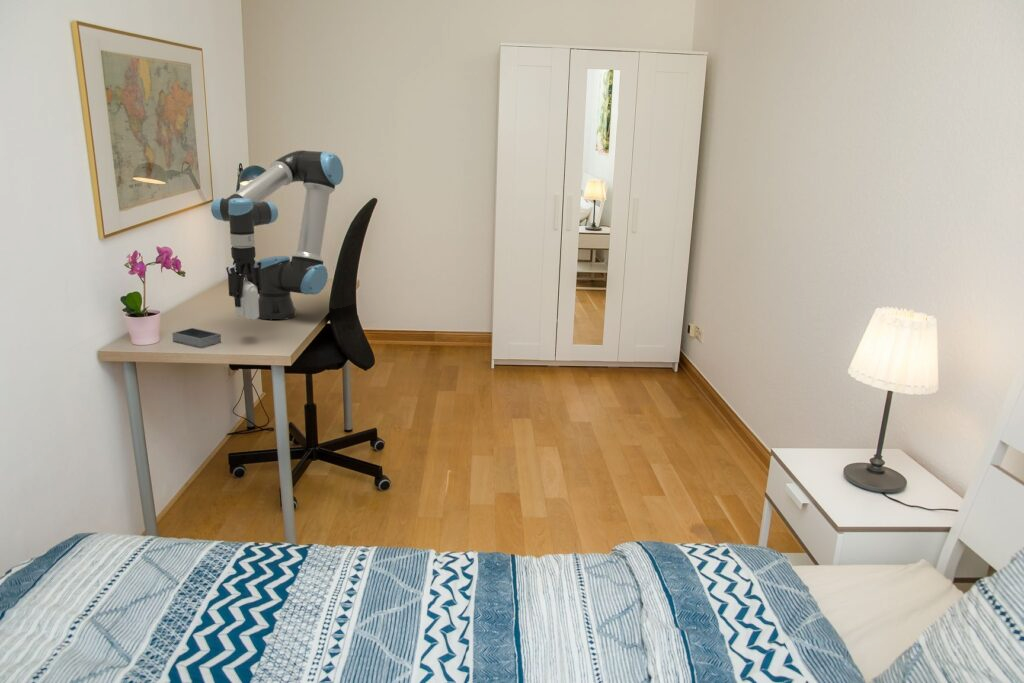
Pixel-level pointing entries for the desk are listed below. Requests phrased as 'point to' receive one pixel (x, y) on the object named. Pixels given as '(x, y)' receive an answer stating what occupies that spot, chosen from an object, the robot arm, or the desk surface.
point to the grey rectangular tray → (196, 337)
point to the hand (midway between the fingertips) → (247, 313)
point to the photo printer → (250, 300)
